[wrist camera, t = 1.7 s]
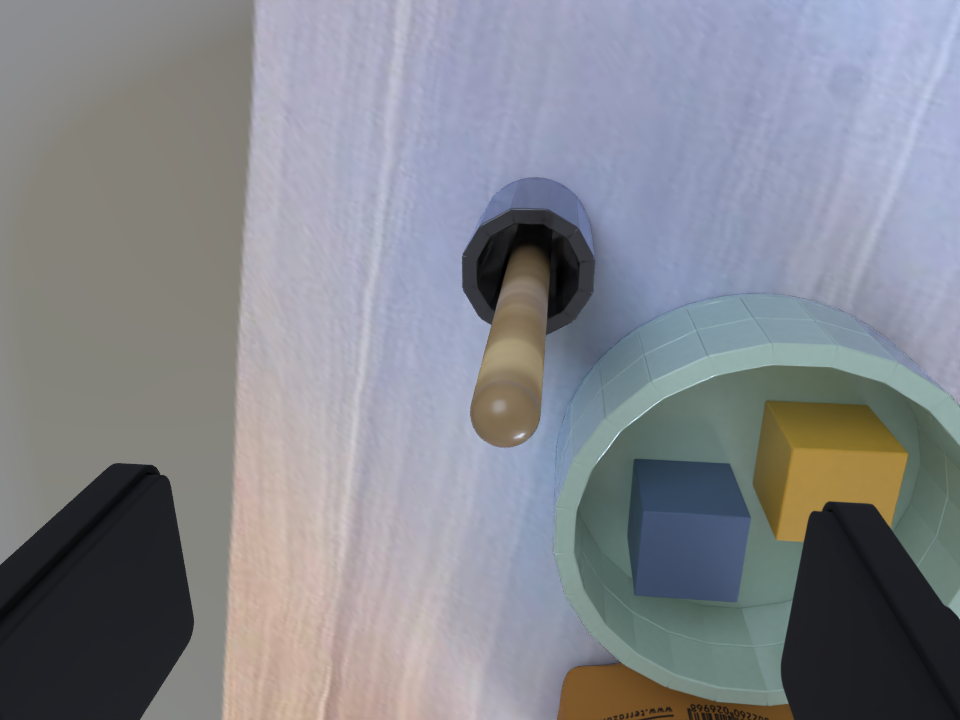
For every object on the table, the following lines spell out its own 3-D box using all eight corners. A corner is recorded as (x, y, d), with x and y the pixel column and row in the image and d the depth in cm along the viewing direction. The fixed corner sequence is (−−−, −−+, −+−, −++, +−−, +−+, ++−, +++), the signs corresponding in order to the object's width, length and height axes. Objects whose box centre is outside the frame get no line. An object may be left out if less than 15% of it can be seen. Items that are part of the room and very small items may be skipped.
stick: (516, 216, 29) (465, 394, 14) (553, 217, 29) (540, 397, 14) (515, 251, 29) (466, 458, 15) (551, 253, 29) (538, 462, 15)
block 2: (765, 399, 31) (792, 448, 27) (868, 404, 30) (910, 453, 26) (751, 484, 32) (775, 541, 28) (849, 489, 32) (886, 548, 28)
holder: (481, 176, 29) (461, 207, 23) (591, 178, 28) (598, 210, 23) (480, 281, 31) (462, 334, 25) (586, 285, 30) (590, 338, 25)
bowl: (563, 286, 30) (562, 335, 25) (975, 299, 29) (1063, 353, 24) (549, 599, 36) (546, 689, 31) (890, 622, 35) (945, 721, 30)
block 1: (633, 457, 32) (642, 511, 29) (730, 462, 32) (751, 517, 28) (626, 536, 34) (634, 596, 30) (718, 541, 33) (737, 603, 30)
